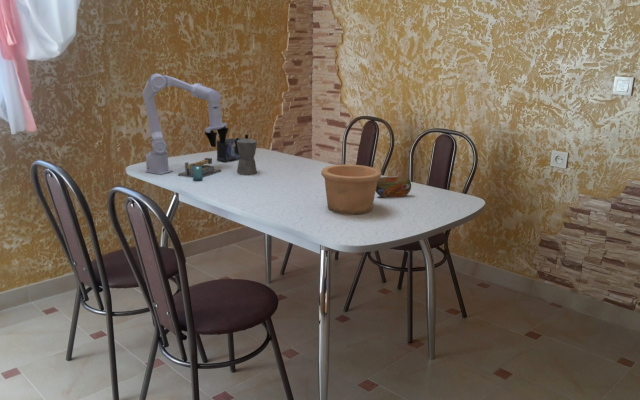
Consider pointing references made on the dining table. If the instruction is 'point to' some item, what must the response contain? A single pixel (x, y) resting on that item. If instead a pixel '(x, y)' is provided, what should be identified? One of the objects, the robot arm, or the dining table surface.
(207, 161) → the pin
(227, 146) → the small box
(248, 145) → the coffeepot
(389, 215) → the dining table surface
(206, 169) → the dock
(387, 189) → the tin
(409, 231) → the dining table surface
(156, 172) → the robot arm
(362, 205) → the pottery
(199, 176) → the teal glass cylinder
